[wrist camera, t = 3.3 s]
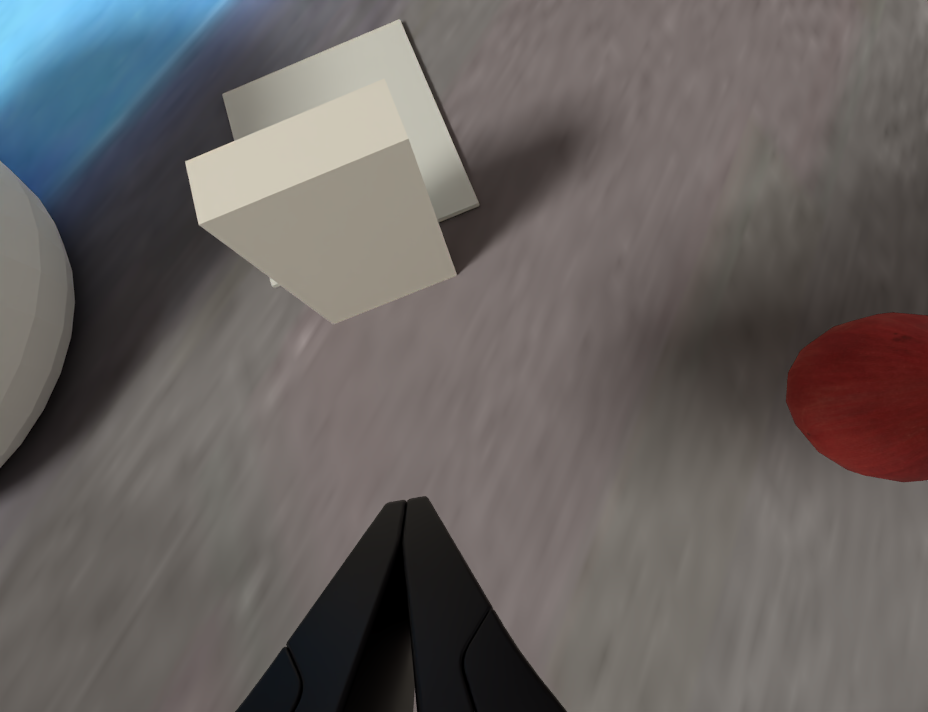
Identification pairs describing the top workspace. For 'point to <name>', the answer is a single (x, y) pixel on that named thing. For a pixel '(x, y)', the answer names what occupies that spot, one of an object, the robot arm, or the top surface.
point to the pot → (29, 309)
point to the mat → (351, 71)
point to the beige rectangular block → (327, 205)
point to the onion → (866, 395)
